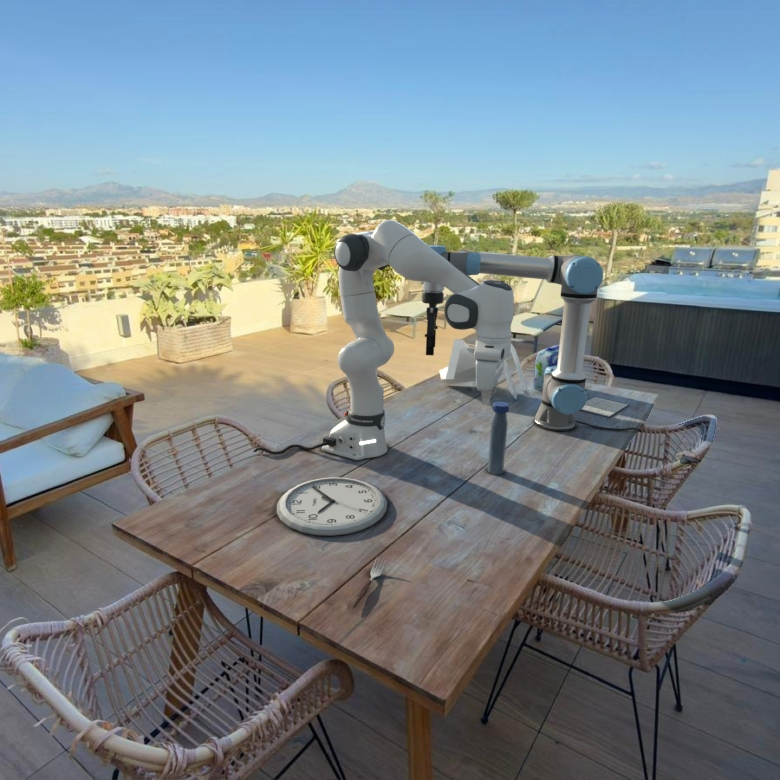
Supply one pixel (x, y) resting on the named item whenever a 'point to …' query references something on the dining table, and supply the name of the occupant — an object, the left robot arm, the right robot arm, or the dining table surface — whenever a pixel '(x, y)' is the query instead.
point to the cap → (500, 407)
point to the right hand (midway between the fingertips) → (430, 350)
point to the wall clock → (331, 506)
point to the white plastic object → (465, 367)
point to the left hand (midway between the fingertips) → (489, 398)
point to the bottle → (497, 443)
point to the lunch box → (544, 364)
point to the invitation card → (603, 406)
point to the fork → (374, 573)
